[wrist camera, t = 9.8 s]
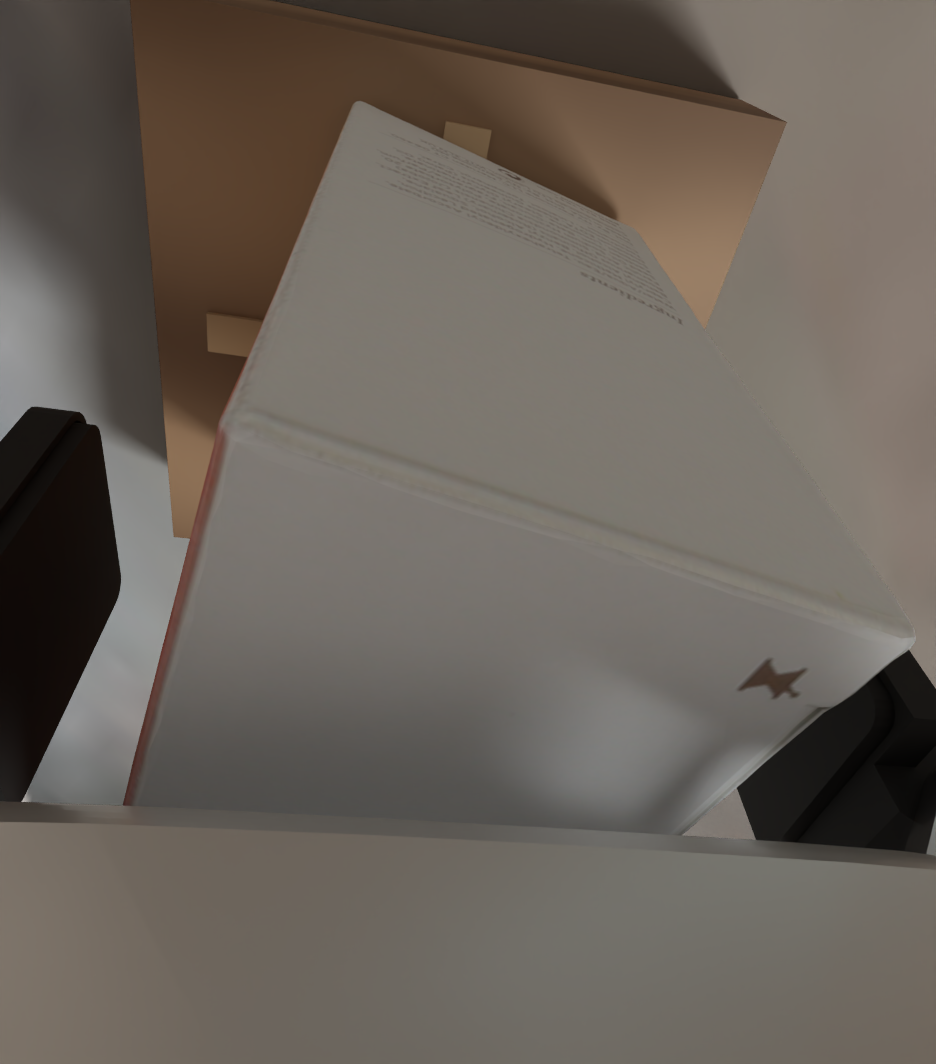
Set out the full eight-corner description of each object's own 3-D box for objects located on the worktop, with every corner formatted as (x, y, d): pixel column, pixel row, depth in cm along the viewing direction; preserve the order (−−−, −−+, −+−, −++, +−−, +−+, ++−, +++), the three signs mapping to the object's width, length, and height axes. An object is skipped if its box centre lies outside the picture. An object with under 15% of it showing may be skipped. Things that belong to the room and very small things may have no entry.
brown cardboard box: (170, -22, 13) (126, -16, 11) (740, 99, 15) (789, 123, 13) (197, 481, 20) (172, 539, 18) (589, 527, 22) (605, 585, 20)
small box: (355, 89, 12) (211, 383, 4) (641, 225, 14) (958, 637, 6) (244, 465, 17) (67, 969, 8) (470, 536, 18) (506, 1020, 10)
